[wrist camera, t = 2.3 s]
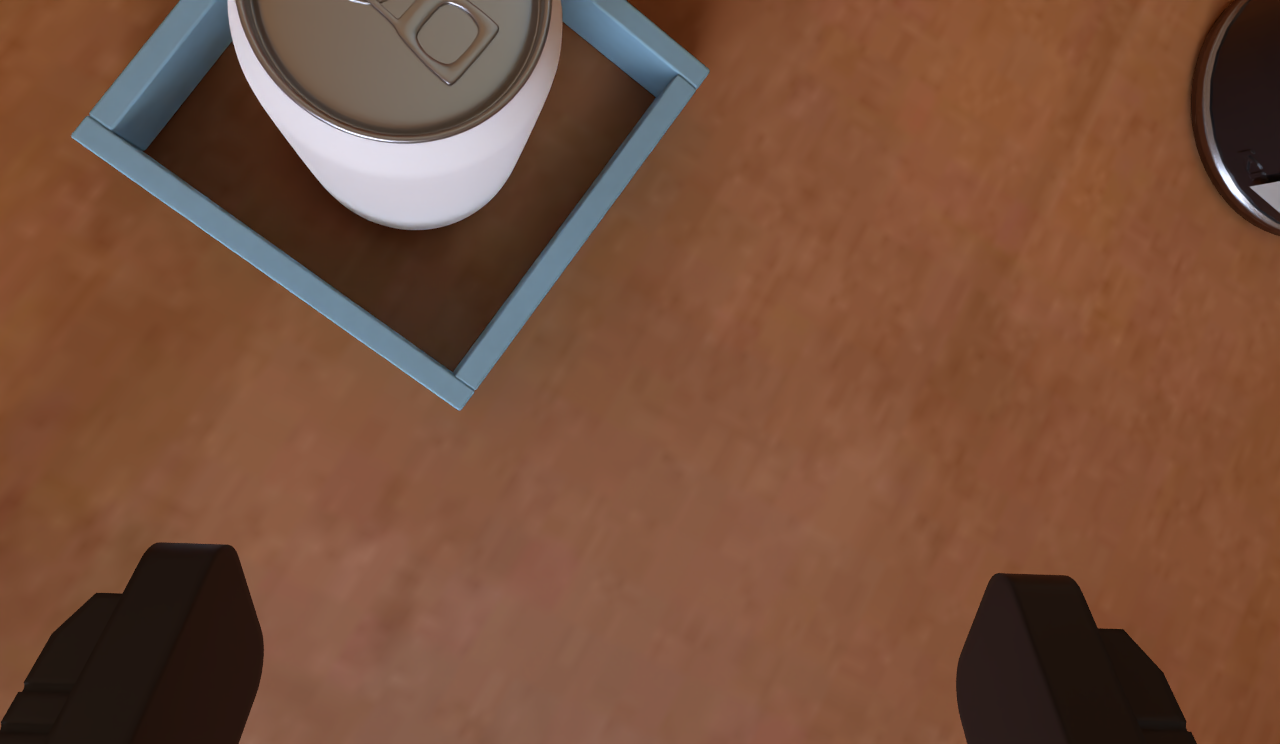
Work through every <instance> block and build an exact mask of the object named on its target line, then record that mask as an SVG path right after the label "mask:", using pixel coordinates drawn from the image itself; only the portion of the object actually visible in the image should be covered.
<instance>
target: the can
mask: <svg viewBox="0 0 1280 744" xmlns="http://www.w3.org/2000/svg"><path fill="white" fill-rule="evenodd" d="M227 3H228V18H229V25H230V31H231V36H232V40H233V44H234V47H235V51H236V54H237V57H238V60H239V63H240V65H241V68H242V70H243V73H244V75H245V77H246V79H247V81H248V83H249V85H250V87H251V88H252V90H253V92H254V94H255V95H256V97H257V99H258V100H259V102H260V103H261V105H262V106H263V108H264V109H265V111H266V112H267V114H268V115H269V116H270V118H271V119H272V121H273V122H274V123H275V125H276V126H277V127H278V129H279V130H280V131H281V133H282V134H283V135H284V137H285V138H286V139H287V141H288V142H289V143H290V145H291V146H292V147H293V149H294V150H295V151H296V153H297V154H298V155H299V157H300V158H301V159H302V160H303V162H304V163H305V164H306V166H307V167H308V168H309V169H310V171H311V172H312V173H313V174H314V176H315V177H316V178H317V180H318V181H319V182H320V183H321V184H322V185H323V187H324V188H325V189H326V190H327V191H328V192H329V193H330V194H331V195H332V196H333V197H334V198H335V199H336V200H337V201H339V202H340V203H341V204H342V205H344V206H345V207H346V208H348V209H349V210H351V211H352V212H354V213H355V214H357V215H359V216H361V217H363V218H365V219H367V220H369V221H372V222H374V223H377V224H380V225H383V226H387V227H391V228H396V229H403V230H428V229H435V228H440V227H444V226H447V225H451V224H453V223H456V222H458V221H461V220H463V219H465V218H467V217H469V216H470V215H472V214H474V213H475V212H477V211H478V210H480V209H481V208H482V207H484V206H485V205H486V204H487V203H488V202H489V201H490V200H491V199H492V198H493V197H494V196H495V195H496V194H497V193H498V192H499V190H500V189H501V188H502V187H503V185H504V184H505V182H506V181H507V179H508V178H509V176H510V174H511V172H512V170H513V169H514V167H515V165H516V163H517V161H518V159H519V157H520V155H521V153H522V151H523V148H524V146H525V144H526V142H527V140H528V138H529V136H530V134H531V132H532V129H533V127H534V125H535V123H536V121H537V118H538V116H539V114H540V112H541V110H542V107H543V105H544V103H545V101H546V98H547V96H548V93H549V91H550V88H551V85H552V82H553V79H554V76H555V73H556V70H557V66H558V62H559V57H560V51H561V43H562V6H561V0H227Z"/></svg>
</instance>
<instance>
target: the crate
mask: <svg viewBox="0 0 1280 744" xmlns="http://www.w3.org/2000/svg"><path fill="white" fill-rule="evenodd" d="M561 6H562V21H563V22H564V23H565V24H566V25H567V26H569V27H570V28H571V29H572V30H574V31H575V32H576V33H577V34H579V35H580V36H581V37H582V38H583V39H585V40H586V41H587V42H588V43H590V44H591V45H592V46H593V47H595V48H596V49H597V50H598V51H599V52H601V53H602V54H603V55H604V56H606V57H607V58H608V59H609V60H611V61H612V62H613V63H614V64H615V65H617V66H618V67H619V68H620V69H622V70H623V71H624V72H625V73H627V74H628V75H629V76H630V77H632V78H633V79H634V80H635V81H636V82H638V83H639V84H640V85H641V86H643V87H644V88H645V89H646V90H648V91H649V92H650V93H651V94H652V95H654V96H655V97H656V98H655V99H654V101H653V102H652V103H651V105H650V106H649V107H648V109H647V110H646V111H645V113H644V114H643V115H642V117H641V118H640V120H639V121H638V122H637V124H636V125H635V126H634V128H633V129H632V130H631V132H630V133H629V134H628V136H627V137H626V138H625V140H624V141H623V143H622V144H621V145H620V147H619V148H618V149H617V151H616V152H615V153H614V155H613V156H612V157H611V159H610V160H609V161H608V163H607V164H606V166H605V167H604V168H603V170H602V171H601V172H600V174H599V175H598V176H597V178H596V179H595V180H594V182H593V183H592V184H591V186H590V187H589V188H588V190H587V191H586V193H585V194H584V195H583V197H582V198H581V199H580V201H579V202H578V203H577V205H576V206H575V207H574V209H573V210H572V211H571V213H570V214H569V216H568V217H567V218H566V220H565V221H564V222H563V224H562V225H561V226H560V228H559V229H558V230H557V232H556V233H555V234H554V236H553V237H552V239H551V240H550V241H549V243H548V244H547V245H546V247H545V248H544V249H543V251H542V252H541V253H540V255H539V256H538V257H537V259H536V260H535V262H534V263H533V264H532V266H531V267H530V268H529V270H528V271H527V272H526V274H525V275H524V276H523V278H522V279H521V280H520V282H519V283H518V285H517V286H516V287H515V289H514V290H513V291H512V293H511V294H510V295H509V297H508V298H507V299H506V301H505V302H504V303H503V305H502V306H501V308H500V309H499V310H498V312H497V313H496V314H495V316H494V317H493V318H492V320H491V321H490V322H489V324H488V325H487V326H486V328H485V329H484V331H483V332H482V333H481V335H480V336H479V337H478V339H477V340H476V341H475V343H474V344H473V345H472V347H471V348H470V349H469V351H468V352H467V354H466V355H465V356H464V358H463V359H462V360H461V362H460V363H459V364H458V366H457V367H456V368H455V370H454V373H453V372H452V371H450V370H449V369H447V368H446V367H445V366H443V365H442V364H440V363H439V362H438V361H436V360H435V359H433V358H432V357H431V356H429V355H428V354H426V353H425V352H424V351H422V350H421V349H419V348H418V347H417V346H415V345H414V344H412V343H411V342H410V341H408V340H407V339H405V338H404V337H403V336H401V335H400V334H398V333H397V332H396V331H394V330H393V329H391V328H390V327H388V326H387V325H386V324H384V323H383V322H381V321H380V320H379V319H377V318H376V317H374V316H373V315H372V314H370V313H369V312H367V311H366V310H365V309H363V308H362V307H360V306H359V305H358V304H356V303H355V302H353V301H352V300H351V299H349V298H348V297H346V296H345V295H344V294H342V293H341V292H339V291H338V290H337V289H335V288H334V287H332V286H331V285H330V284H328V283H327V282H325V281H324V280H323V279H321V278H320V277H318V276H317V275H316V274H314V273H313V272H311V271H310V270H309V269H307V268H306V267H304V266H303V265H302V264H300V263H299V262H297V261H296V260H295V259H293V258H292V257H290V256H289V255H288V254H286V253H285V252H283V251H282V250H281V249H279V248H278V247H276V246H275V245H273V244H272V243H271V242H269V241H268V240H266V239H265V238H264V237H262V236H261V235H259V234H258V233H257V232H255V231H254V230H252V229H251V228H250V227H248V226H247V225H245V224H244V223H243V222H241V221H240V220H238V219H237V218H236V217H234V216H233V215H231V214H230V213H229V212H227V211H226V210H224V209H223V208H222V207H220V206H219V205H217V204H216V203H215V202H213V201H212V200H210V199H209V198H208V197H206V196H205V195H203V194H202V193H201V192H199V191H198V190H196V189H195V188H194V187H192V186H191V185H189V184H188V183H187V182H185V181H184V180H182V179H181V178H180V177H178V176H177V175H175V174H174V173H173V172H171V171H170V170H168V169H167V168H166V167H164V166H163V165H161V164H160V163H159V162H157V161H156V160H154V159H153V158H151V157H150V156H149V155H147V154H146V153H144V152H143V151H144V150H146V149H147V148H148V146H149V145H150V144H151V143H152V141H153V140H154V139H155V138H156V136H157V135H158V134H159V133H160V131H161V130H162V129H163V128H164V126H165V125H166V124H167V123H168V121H169V120H170V119H171V117H172V116H173V115H174V114H175V112H176V111H177V110H178V109H179V107H180V106H181V105H182V104H183V102H184V101H185V100H186V99H187V97H188V96H189V95H190V94H191V92H192V91H193V90H194V88H195V87H196V86H197V85H198V83H199V82H200V81H201V80H202V78H203V77H204V76H205V75H206V73H207V72H208V71H209V70H210V68H211V67H212V66H213V65H214V63H215V62H216V61H217V59H218V58H219V57H220V56H221V54H222V53H223V52H224V51H225V49H226V48H227V47H228V46H229V44H230V43H231V42H232V41H233V40H232V36H231V31H230V25H229V18H228V3H227V0H180V1H179V2H178V3H177V4H176V6H175V7H174V8H173V9H172V11H171V12H170V13H169V14H168V16H167V17H166V18H165V19H164V21H163V22H162V23H161V24H160V26H159V27H158V28H157V29H156V31H155V32H154V33H153V34H152V36H151V37H150V38H149V39H148V40H147V42H146V43H145V44H144V45H143V47H142V48H141V49H140V50H139V52H138V53H137V54H136V55H135V57H134V58H133V59H132V60H131V62H130V63H129V64H128V65H127V67H126V68H125V69H124V70H123V72H122V73H121V74H120V75H119V77H118V78H117V79H116V80H115V82H114V83H113V84H112V85H111V87H110V88H109V89H108V90H107V92H106V93H105V94H104V95H103V97H102V98H101V99H100V100H99V101H98V103H97V104H96V105H95V106H94V108H93V109H92V110H91V111H90V114H89V115H90V116H91V117H90V116H86V117H85V118H84V120H83V121H82V122H81V123H80V125H79V126H78V127H77V128H76V130H75V131H74V132H73V133H72V135H71V136H72V138H73V139H75V140H76V141H77V142H79V143H80V144H82V145H83V146H84V147H86V148H87V149H89V150H90V151H92V152H93V153H94V154H96V155H97V156H99V157H100V158H101V159H103V160H104V161H106V162H107V163H109V164H110V165H111V166H113V167H114V168H116V169H117V170H119V171H120V172H121V173H123V174H124V175H126V176H127V177H128V178H130V179H131V180H133V181H134V182H136V183H137V184H138V185H140V186H141V187H143V188H144V189H145V190H147V191H148V192H150V193H151V194H153V195H154V196H155V197H157V198H158V199H160V200H161V201H162V202H164V203H165V204H167V205H168V206H170V207H171V208H172V209H174V210H175V211H177V212H178V213H179V214H181V215H182V216H184V217H185V218H187V219H188V220H189V221H191V222H192V223H194V224H195V225H196V226H198V227H199V228H201V229H202V230H204V231H205V232H206V233H208V234H209V235H211V236H212V237H213V238H215V239H216V240H218V241H219V242H221V243H222V244H223V245H225V246H226V247H228V248H229V249H230V250H232V251H233V252H235V253H236V254H238V255H239V256H240V257H242V258H243V259H245V260H246V261H248V262H249V263H250V264H252V265H253V266H255V267H256V268H257V269H259V270H260V271H262V272H263V273H265V274H266V275H267V276H269V277H270V278H272V279H273V280H274V281H276V282H277V283H279V284H280V285H282V286H283V287H284V288H286V289H287V290H289V291H290V292H291V293H293V294H294V295H296V296H297V297H299V298H300V299H301V300H303V301H304V302H306V303H307V304H308V305H310V306H311V307H313V308H314V309H316V310H317V311H318V312H320V313H321V314H323V315H324V316H325V317H327V318H328V319H330V320H331V321H333V322H334V323H335V324H337V325H338V326H340V327H341V328H342V329H344V330H345V331H347V332H348V333H350V334H351V335H352V336H354V337H355V338H357V339H358V340H359V341H361V342H362V343H364V344H365V345H367V346H368V347H369V348H371V349H372V350H374V351H375V352H377V353H378V354H379V355H381V356H382V357H384V358H385V359H386V360H388V361H389V362H391V363H392V364H394V365H395V366H396V367H398V368H399V369H401V370H402V371H403V372H405V373H406V374H408V375H409V376H411V377H412V378H413V379H415V380H416V381H418V382H419V383H420V384H422V385H423V386H425V387H426V388H428V389H429V390H430V391H432V392H433V393H435V394H436V395H437V396H439V397H440V398H442V399H443V400H445V401H446V402H447V403H449V404H450V405H452V406H453V407H454V408H456V409H457V410H462V408H463V407H464V406H465V404H466V403H467V402H468V400H469V399H470V398H471V396H472V395H473V393H474V390H476V389H477V388H478V387H479V385H480V384H481V383H482V381H483V380H484V379H485V377H486V376H487V374H488V373H489V372H490V370H491V369H492V368H493V366H494V365H495V364H496V362H497V361H498V360H499V358H500V357H501V355H502V354H503V353H504V351H505V350H506V349H507V347H508V346H509V345H510V343H511V342H512V340H513V339H514V338H515V336H516V335H517V334H518V332H519V331H520V330H521V328H522V327H523V325H524V324H525V323H526V321H527V320H528V319H529V317H530V316H531V315H532V313H533V312H534V311H535V309H536V308H537V306H538V305H539V304H540V302H541V301H542V300H543V298H544V297H545V296H546V294H547V293H548V291H549V290H550V289H551V287H552V286H553V285H554V283H555V282H556V281H557V279H558V278H559V277H560V275H561V274H562V272H563V271H564V270H565V268H566V267H567V266H568V264H569V263H570V262H571V260H572V259H573V257H574V256H575V255H576V253H577V252H578V251H579V249H580V248H581V247H582V245H583V244H584V243H585V241H586V240H587V238H588V237H589V236H590V234H591V233H592V232H593V230H594V229H595V228H596V226H597V225H598V223H599V222H600V221H601V219H602V218H603V217H604V215H605V214H606V213H607V211H608V210H609V209H610V207H611V206H612V204H613V203H614V202H615V200H616V199H617V198H618V196H619V195H620V194H621V192H622V191H623V189H624V188H625V187H626V185H627V184H628V183H629V181H630V180H631V179H632V177H633V176H634V175H635V173H636V172H637V170H638V169H639V168H640V166H641V165H642V164H643V162H644V161H645V160H646V158H647V157H648V155H649V154H650V153H651V151H652V150H653V149H654V147H655V146H656V145H657V143H658V142H659V141H660V139H661V138H662V136H663V135H664V134H665V132H666V131H667V130H668V128H669V127H670V126H671V124H672V123H673V121H674V120H675V119H676V117H677V116H678V115H679V113H680V112H681V111H682V109H683V108H684V107H685V105H686V104H687V102H688V101H689V100H690V98H691V97H692V96H693V94H694V93H695V92H696V89H697V88H698V87H699V86H700V85H701V83H702V82H703V81H704V79H705V78H706V77H707V75H708V74H709V71H710V70H709V69H708V68H707V67H706V66H705V65H704V64H702V63H701V62H700V61H699V60H697V59H696V58H695V57H694V56H693V55H691V54H690V53H689V52H688V51H687V50H685V49H684V48H683V47H682V46H681V45H679V44H678V43H677V42H676V41H675V40H673V39H672V38H671V37H670V36H669V35H667V34H666V33H665V32H664V31H662V30H661V29H660V28H659V27H658V26H656V25H655V24H654V23H653V22H652V21H650V20H649V19H648V18H647V17H646V16H644V15H643V14H642V13H641V12H640V11H638V10H637V9H636V8H635V7H634V6H632V5H631V4H630V3H629V2H628V1H626V0H561Z"/></svg>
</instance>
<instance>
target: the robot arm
mask: <svg viewBox="0 0 1280 744" xmlns="http://www.w3.org/2000/svg"><path fill="white" fill-rule="evenodd" d="M1191 114H1192V125H1193V131H1194V137H1195V141H1196V145H1197V149H1198V152H1199V155H1200V158H1201V161H1202V163H1203V165H1204V168H1205V170H1206V172H1207V174H1208V176H1209V178H1210V180H1211V181H1212V183H1213V185H1214V186H1215V188H1216V189H1217V191H1218V192H1219V194H1220V195H1221V196H1222V197H1223V199H1224V200H1225V201H1226V202H1227V203H1228V204H1229V205H1230V206H1231V207H1232V208H1233V209H1234V210H1235V211H1236V212H1237V213H1238V214H1239V215H1240V216H1242V217H1243V218H1244V219H1245V220H1247V221H1248V222H1250V223H1251V224H1253V225H1254V226H1256V227H1258V228H1260V229H1262V230H1264V231H1267V232H1269V233H1272V234H1274V235H1278V236H1280V0H1234V1H1233V2H1232V3H1231V4H1230V5H1229V6H1228V7H1227V8H1226V9H1225V10H1224V11H1223V13H1222V14H1221V15H1220V17H1219V18H1218V19H1217V21H1216V22H1215V24H1214V25H1213V27H1212V28H1211V30H1210V32H1209V34H1208V36H1207V38H1206V40H1205V42H1204V44H1203V46H1202V49H1201V52H1200V54H1199V57H1198V61H1197V64H1196V68H1195V72H1194V78H1193V84H1192V94H1191ZM263 656H264V645H263V635H262V631H261V627H260V624H259V621H258V618H257V615H256V611H255V608H254V605H253V602H252V599H251V595H250V592H249V589H248V586H247V583H246V579H245V576H244V573H243V570H242V567H241V563H240V560H239V557H238V554H237V552H236V550H235V549H234V548H233V547H232V546H230V545H220V544H190V543H155V544H153V545H152V546H151V547H149V548H148V549H147V551H146V552H145V553H144V555H143V556H142V558H141V560H140V562H139V563H138V565H137V567H136V569H135V571H134V573H133V575H132V577H131V579H130V580H129V582H128V584H127V586H126V588H125V590H124V592H123V594H116V593H96V594H95V595H93V596H92V597H91V598H90V599H89V600H88V601H87V602H86V603H85V604H84V605H83V606H82V607H80V608H79V609H78V610H77V611H76V612H75V613H74V614H73V615H72V616H71V617H70V618H69V619H67V620H66V621H65V622H64V623H63V624H62V625H61V626H60V627H59V628H58V629H57V630H56V631H54V632H53V633H52V635H51V636H50V638H49V640H48V641H47V643H46V645H45V647H44V648H43V650H42V652H41V654H40V655H39V657H38V659H37V661H36V662H35V664H34V666H33V667H32V669H31V671H30V673H29V674H28V676H27V678H26V680H25V681H24V690H23V691H22V692H18V694H17V695H16V697H15V699H14V700H13V702H12V704H11V706H10V707H9V709H8V711H7V713H6V714H5V716H4V718H3V720H2V721H1V730H0V744H239V741H240V738H241V735H242V732H243V730H244V727H245V724H246V721H247V718H248V716H249V713H250V710H251V707H252V705H253V702H254V699H255V696H256V693H257V690H258V687H259V683H260V679H261V673H262V667H263ZM956 691H957V702H958V709H959V714H960V718H961V722H962V726H963V729H964V733H965V737H966V740H967V744H1197V743H1196V741H1195V739H1194V737H1193V735H1192V733H1191V732H1188V731H1187V729H1186V720H1185V718H1184V716H1183V714H1182V711H1181V709H1180V707H1179V705H1178V703H1177V701H1176V699H1175V697H1174V695H1173V692H1172V690H1171V688H1170V686H1169V684H1168V682H1167V680H1166V678H1165V675H1164V673H1163V672H1162V671H1161V670H1160V669H1159V668H1158V667H1157V665H1156V664H1155V663H1154V662H1153V661H1152V660H1151V659H1150V658H1149V657H1148V656H1147V655H1146V654H1145V652H1144V651H1143V650H1142V649H1141V648H1140V647H1139V646H1138V645H1137V644H1136V643H1135V642H1134V641H1133V639H1132V638H1131V637H1130V636H1129V635H1128V634H1127V633H1126V632H1125V631H1124V630H1123V629H1098V628H1097V626H1096V624H1095V621H1094V619H1093V617H1092V614H1091V612H1090V610H1089V607H1088V605H1087V603H1086V600H1085V598H1084V596H1083V593H1082V591H1081V589H1080V587H1079V586H1078V584H1077V583H1076V582H1075V581H1074V580H1073V579H1072V578H1071V577H1069V576H1064V575H1034V574H1004V573H998V574H995V575H994V576H992V578H991V579H990V581H989V583H988V585H987V588H986V590H985V593H984V595H983V598H982V601H981V603H980V606H979V608H978V611H977V613H976V616H975V619H974V621H973V624H972V626H971V629H970V631H969V634H968V637H967V639H966V642H965V644H964V647H963V650H962V652H961V655H960V658H959V662H958V667H957V677H956Z"/></svg>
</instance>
